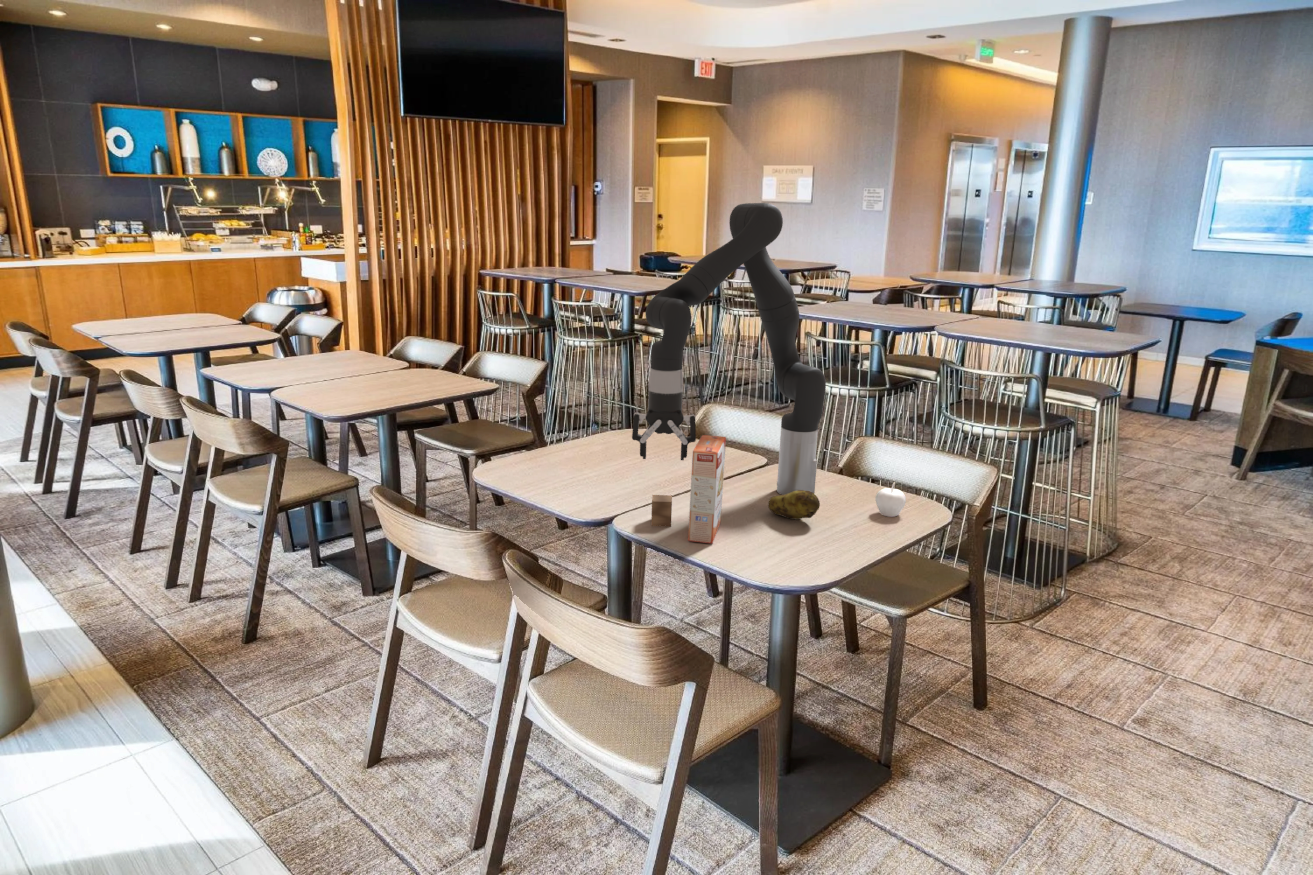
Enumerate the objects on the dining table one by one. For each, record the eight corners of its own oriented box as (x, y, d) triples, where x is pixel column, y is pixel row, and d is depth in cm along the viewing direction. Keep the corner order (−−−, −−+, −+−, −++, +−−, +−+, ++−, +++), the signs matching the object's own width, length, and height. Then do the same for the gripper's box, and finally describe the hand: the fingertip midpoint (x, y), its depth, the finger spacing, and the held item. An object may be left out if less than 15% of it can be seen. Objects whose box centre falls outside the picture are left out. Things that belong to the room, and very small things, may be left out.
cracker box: (714, 545, 188) (719, 452, 182) (687, 542, 189) (690, 450, 184) (722, 522, 201) (727, 435, 196) (697, 520, 202) (700, 433, 197)
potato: (792, 508, 212) (794, 477, 210) (823, 526, 201) (826, 493, 199) (763, 513, 208) (765, 481, 206) (793, 531, 197) (796, 498, 195)
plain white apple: (910, 516, 209) (914, 485, 207) (889, 521, 205) (892, 489, 203) (889, 507, 215) (892, 476, 213) (868, 512, 211) (871, 480, 209)
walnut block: (671, 519, 202) (671, 495, 201) (671, 526, 198) (671, 501, 196) (651, 519, 202) (652, 494, 201) (651, 526, 198) (652, 501, 196)
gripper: (697, 386, 195) (694, 455, 200) (634, 384, 195) (632, 453, 200) (698, 393, 188) (695, 464, 192) (632, 391, 188) (630, 462, 192)
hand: (663, 458), depth 196 cm, fingers open, 8 cm apart
